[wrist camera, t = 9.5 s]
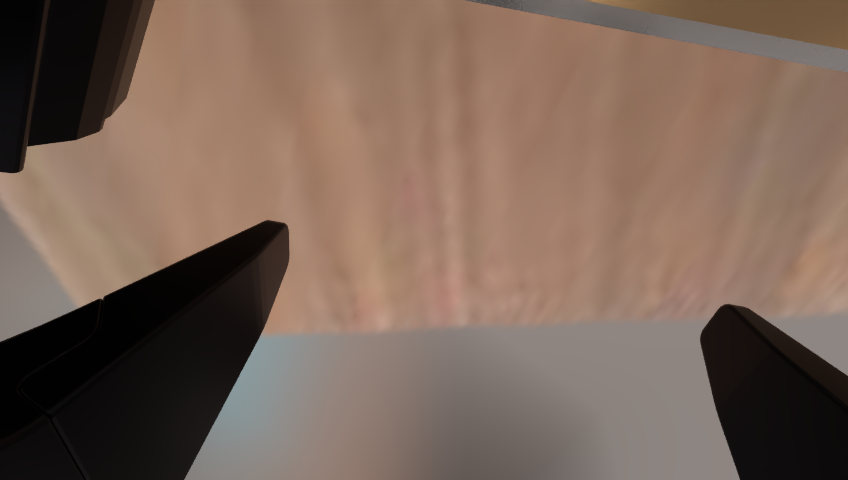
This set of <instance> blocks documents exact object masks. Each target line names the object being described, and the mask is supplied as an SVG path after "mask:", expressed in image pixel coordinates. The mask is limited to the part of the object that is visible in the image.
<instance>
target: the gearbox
mask: <svg viewBox="0 0 848 480" xmlns="http://www.w3.org/2000/svg"><path fill="white" fill-rule="evenodd" d="M467 1H472V2H477V3H483V4H488V5H493V6H499V7H504V8H509V9H515V10H520V11H525V12H530V13H536V14H541V15H546V16H552V17H557V18H562V19H568V20H573V21H578V22H584V23H589V24H594V25H600V26H605V27H610V28H615V29H621V30H626V31H631V32H637V33H642V34H647V35H653V36H658V37H663V38H669V39H674V40H679V41H685V42H690V43H695V44H700V45H706V46H711V47H716V48H722V49H727V50H732V51H738V52H743V53H748V54H754V55H759V56H764V57H770V58H775V59H780V60H785V61H791V62H796V63H801V64H807V65H812V66H817V67H823V68H828V69H833V70H839V71H844V72H848V0H467Z"/></svg>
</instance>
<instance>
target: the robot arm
mask: <svg viewBox="0 0 848 480" xmlns="http://www.w3.org/2000/svg"><path fill="white" fill-rule="evenodd" d="M154 1H155V0H0V172H5V173H17V172H20V171H22V170H23V168H24V163H25V157H26V150H27V146H34V145H42V144H49V143H57V142H65V141H72V140H77V139H80V138H83V137H86V136H88V135H91V134H94V133H97V132H99V131H100V130H101V129H102V128H103V125H104V121H105V119H106V118H108V117H110V116H111V115H112V114H113V113H114V112H115V110H116V109H117V108H118V107H119V106H120V105H121V104H122V102H123V101H124V100H125V99H126V97H127V94H128V91H129V87H130V84H131V80H132V77H133V73H134V70H135V67H136V63H137V60H138V56H139V53H140V49H141V46H142V42H143V39H144V36H145V32H146V29H147V25H148V22H149V18H150V15H151V12H152V8H153V5H154ZM288 263H289V229H288V226H287V225H286V224H285V223H281V222H276V221H271V220H266V221H264V222H261V223H259V224H257V225H255V226H253V227H251V228H249V229H247V230H244V231H242V232H240V233H238V234H236V235H234V236H232V237H229V238H227V239H225V240H223V241H221V242H219V243H217V244H215V245H212V246H210V247H208V248H206V249H204V250H202V251H200V252H198V253H195V254H193V255H191V256H189V257H187V258H185V259H183V260H181V261H178V262H176V263H174V264H172V265H170V266H168V267H166V268H163V269H161V270H159V271H157V272H155V273H153V274H151V275H149V276H146V277H144V278H142V279H140V280H138V281H136V282H134V283H132V284H129V285H127V286H125V287H123V288H121V289H119V290H117V291H114V292H112V293H110V294H108V295H106V296H104V298H103V300H102V299H97V300H95V301H93V302H91V303H89V304H86V305H84V306H82V307H80V308H78V309H76V310H74V311H71V312H69V313H67V314H65V315H62V316H60V317H58V318H56V319H53V320H51V321H49V322H47V323H45V324H42V325H40V326H38V327H35V328H33V329H30V330H28V331H26V332H23V333H21V334H18V335H16V336H13V337H11V338H9V339H6V340H4V341H1V342H0V480H184V479H185V477H186V475H187V473H188V471H189V469H190V468H191V466H192V464H193V462H194V460H195V458H196V456H197V454H198V452H199V451H200V449H201V447H202V445H203V443H204V441H205V439H206V437H207V436H208V434H209V432H210V430H211V428H212V426H213V424H214V422H215V420H216V419H217V417H218V415H219V413H220V411H221V409H222V407H223V405H224V403H225V401H226V399H227V398H228V396H229V394H230V392H231V390H232V388H233V386H234V384H235V383H236V381H237V379H238V377H239V375H240V373H241V371H242V369H243V367H244V366H245V363H246V362H247V360H248V358H249V356H250V354H251V352H252V350H253V349H254V347H255V344H256V343H257V341H258V339H259V337H260V335H261V333H262V331H263V329H264V327H265V324H266V322H267V319H268V317H269V314H270V311H271V309H272V306H273V304H274V301H275V298H276V296H277V293H278V290H279V288H280V285H281V282H282V280H283V277H284V275H285V272H286V269H287V266H288ZM700 342H701V347H702V351H703V356H704V360H705V365H706V369H707V373H708V378H709V382H710V386H711V390H712V395H713V399H714V403H715V407H716V410H717V413H718V417H719V420H720V423H721V426H722V429H723V432H724V435H725V437H726V440H727V443H728V446H729V449H730V451H731V455H732V457H733V460H734V463H735V466H736V469H737V472H738V475H739V478H740V480H848V376H847V375H846V374H844V373H843V372H841V371H840V370H838V369H837V368H835V367H834V366H832V365H831V364H829V363H828V362H827V361H825V360H823V359H822V358H820V357H819V356H818V355H816V354H815V353H813V352H812V351H810V350H809V349H807V348H806V347H804V346H803V345H802V344H800V343H799V342H797V341H796V340H794V339H793V338H791V337H790V336H788V335H787V334H785V333H784V332H782V331H781V330H780V329H778V328H777V327H775V326H774V325H772V324H771V323H769V322H768V321H766V320H765V319H763V318H762V317H760V316H759V315H757V314H756V313H755V312H753V311H752V310H750V309H748V308H746V307H742V306H736V305H731V304H725V305H723V306H721V307H720V308H719V309H718V310H717V312H716V313H715V314H714V316H713V317H712V318H711V320H710V321H709V322H708V324H707V325H706V326H705V328H704V329H703V331H702V333H701V337H700Z"/></svg>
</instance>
